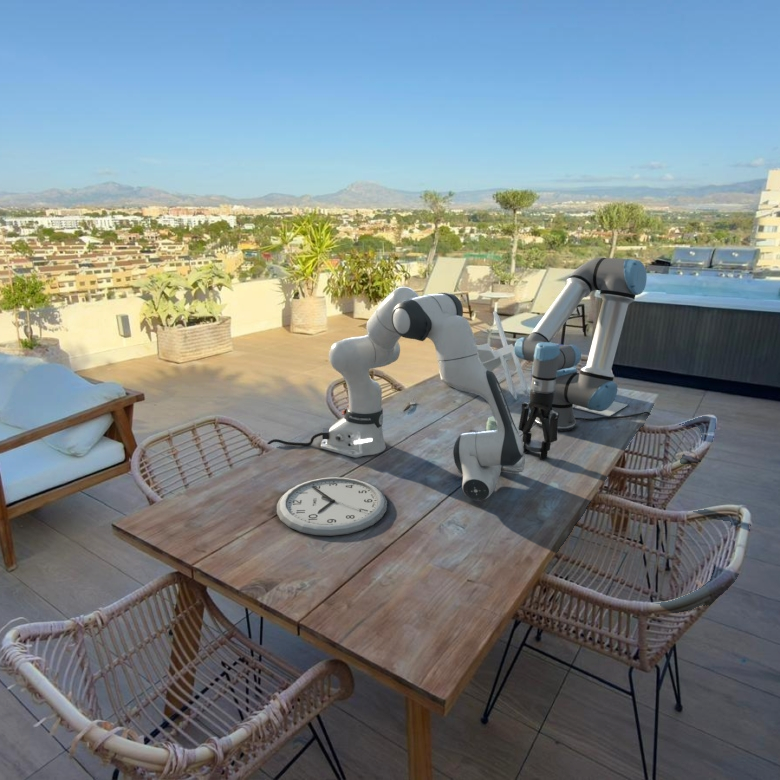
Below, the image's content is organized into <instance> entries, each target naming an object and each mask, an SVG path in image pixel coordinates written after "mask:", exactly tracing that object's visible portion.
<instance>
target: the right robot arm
mask: <svg viewBox="0 0 780 780" xmlns="http://www.w3.org/2000/svg"><path fill="white" fill-rule="evenodd" d="M647 276H648V275H647V269H646V266H645V264H644V263H643V262H642V261H641V260H638V259H632V258H617V257H616V258H615V257H596V258H593V259H590V260H588V261H586V262H584V263H583V264H581V265H580V266H579V267H577V268H576V269H575V270H574V271H572V273H571V274H570V275H569V276H568V278H567V279H566V280H565V287H564V288H563V289H562V291H561V292H560V294H558V296H557V297H556V299H555V300H554V302H553V303H552V304H551V306H550V307H549V309H548V310H547V311H546V312H545V313H544V315H543V316H542V317H541V319H540V321H539V322H538V323H537V325H536V326H535V328H533V330H532V331H531V333H530V334H529V335H528V336H527V337H525V336H524V337H520V338H518V339H516V342H515V343H514V345H513V346H514V352H515V355H516V356H517V357H518V359H521V360H524V361H529V362H532V361H533V362H534V363H533V374H532V381H531V380H530V390H529V394H530V395H529V398H528V399H529V401H525V402H522V403H521V412H520V418H519V424H518V430H519V431H520V432H522V442H523V448H524V450H523V454H526V453H529V452H530V451H529V450H527V449H526V447H525V446H526V442H527V441H531V440H532V434H533V433H531V432H532V428H533V426H534V424H535V425H536V426H537V427H539V428H542V434H543V440H542V441H541V442H542V447H541V452H540V455H539V460H540V461H545V460H547V459H548V452H550V450H551V443H554V442H556V441H558V432H567V431H572V430H574V429H575V428H576V420H577V421H578V420H579V421H598V420H602V419H603V420H605V419H625V418H631V417H638V416H641V415H645V414H648V416H651V415H652V414H651V413H650V412H649V411H643V412H639V413H633V414H627V415H617V416H616V415H611V416H599V417H591V418H589V417H588V418H587V417H576V416H575V413H574V407H573V405H574V406H581V407H584V408H588V409H589V410H595V411H604V410H606V409H607V408H608V407H609V406H610V405H611V404H612V403H613V401H614V402H615V399H616V397H617V394H618V384H617V382H615V381H614V379H615V375H614V374H613V372H612V368H613V364H614V360H615V357H616V353H617V349H618V346H619V342H620V338H621V334H622V331H623V327H624V323H625V320H626V315H627V312H628V308H629V305H630V304H631V303H633V302H634V301H635V299H636V296H638V295H641V294H642V293H643V292H644V290H645V288H646V285H647V278H648V277H647ZM594 291H600V292H599V296H600V298H601V300H602V302H601V306H600V309H599V313H598V317H597V321H596V325H595V329H594V333H593V336H592V341H591V345H590V349H589V353H588V356H587V361H586V364H585V366H583V367H582V368H580V371H579V373H578V368H577V367H576V366H578V364H579V363H580V362H581V359H582V352H581V350H580V348H579V347H578V346H577V345H575V344H562V345H558V344H559V343H554V342H553V341H554V339H555V338H556V336H557V335H558V333H559V332H560V331H561V329H562V328H563V327H564V325H565V323H566V322H567V321H568V319H569V318H570V317H571V316H572V314H573V313H574V311H575V310H576V308H577V307H578V306H579V305H580V303H581V302H582V301H583V299H584V298H587V297H588V296H590V294H591V293H592V292H594ZM563 345H565V346H563Z"/></svg>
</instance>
